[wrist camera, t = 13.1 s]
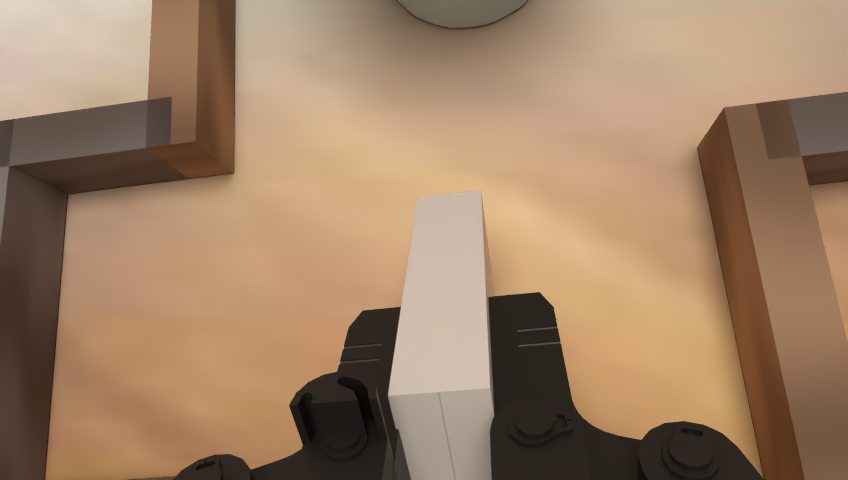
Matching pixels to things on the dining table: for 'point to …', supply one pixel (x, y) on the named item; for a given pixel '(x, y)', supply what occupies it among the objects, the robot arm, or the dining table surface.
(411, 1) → the cup
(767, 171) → the wooden zigzag frame
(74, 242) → the dining table surface
